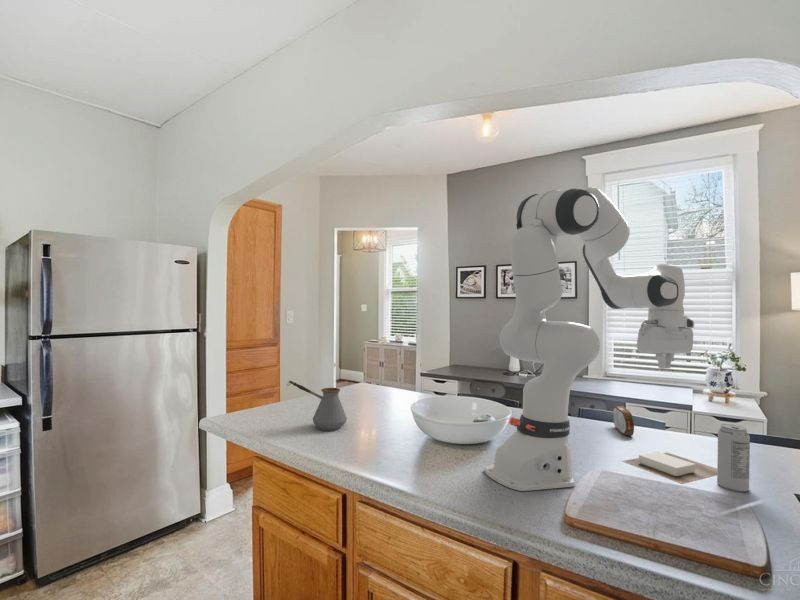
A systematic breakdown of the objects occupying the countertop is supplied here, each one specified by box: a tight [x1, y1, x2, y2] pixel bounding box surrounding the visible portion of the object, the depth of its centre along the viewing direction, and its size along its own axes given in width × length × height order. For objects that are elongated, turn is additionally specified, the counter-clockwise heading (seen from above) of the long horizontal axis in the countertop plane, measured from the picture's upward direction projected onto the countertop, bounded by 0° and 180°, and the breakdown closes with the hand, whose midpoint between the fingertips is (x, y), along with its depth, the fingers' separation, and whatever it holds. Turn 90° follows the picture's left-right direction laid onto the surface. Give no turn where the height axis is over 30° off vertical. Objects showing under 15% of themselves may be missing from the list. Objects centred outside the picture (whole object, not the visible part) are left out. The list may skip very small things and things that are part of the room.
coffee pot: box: [286, 380, 348, 432], centre depth 142 cm, size 21×12×15 cm, turn 81°
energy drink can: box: [716, 423, 751, 493], centre depth 100 cm, size 6×6×15 cm
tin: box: [612, 405, 635, 437], centre depth 147 cm, size 15×3×8 cm, turn 168°
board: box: [621, 452, 717, 485], centre depth 113 cm, size 20×16×1 cm
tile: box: [638, 451, 695, 476], centre depth 111 cm, size 2×10×8 cm
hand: (664, 368), depth 121 cm, fingers closed
